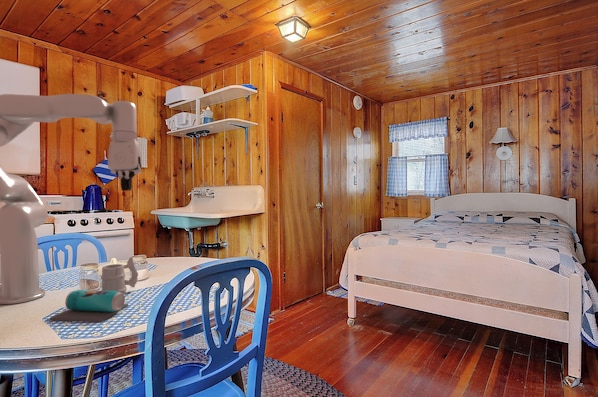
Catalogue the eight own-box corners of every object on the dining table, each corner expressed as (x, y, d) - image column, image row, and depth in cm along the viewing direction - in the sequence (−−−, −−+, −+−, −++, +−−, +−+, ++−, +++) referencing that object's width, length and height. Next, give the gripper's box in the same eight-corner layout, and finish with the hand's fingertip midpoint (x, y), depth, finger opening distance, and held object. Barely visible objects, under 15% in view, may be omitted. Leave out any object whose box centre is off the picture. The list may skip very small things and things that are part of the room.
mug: (96, 295, 113) (95, 260, 112) (133, 287, 122) (132, 254, 121) (105, 300, 108) (104, 263, 107) (142, 291, 117) (141, 257, 116)
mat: (50, 319, 93) (50, 317, 93) (82, 304, 104) (82, 302, 104) (101, 321, 91) (100, 319, 91) (128, 306, 103) (128, 304, 103)
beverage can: (112, 295, 93) (63, 294, 95) (114, 315, 94) (65, 313, 96) (125, 288, 99) (78, 286, 101) (126, 306, 100) (80, 305, 102)
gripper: (97, 136, 115) (99, 190, 116) (138, 135, 113) (140, 190, 114) (112, 139, 122) (113, 190, 123) (151, 138, 121) (152, 190, 121)
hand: (126, 190), depth 119 cm, fingers closed
